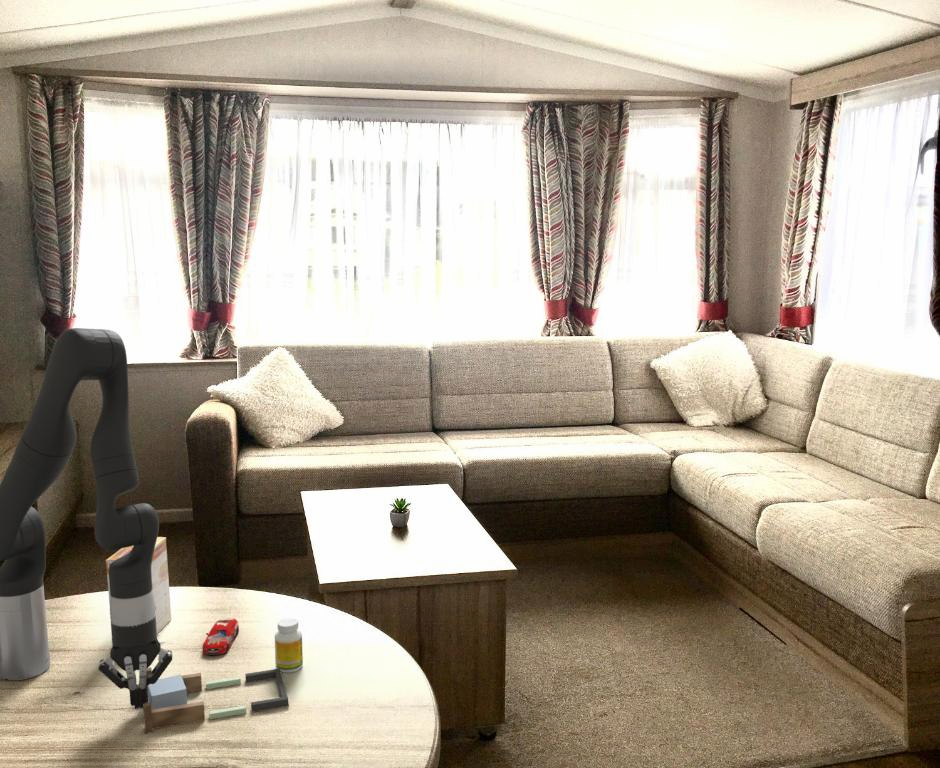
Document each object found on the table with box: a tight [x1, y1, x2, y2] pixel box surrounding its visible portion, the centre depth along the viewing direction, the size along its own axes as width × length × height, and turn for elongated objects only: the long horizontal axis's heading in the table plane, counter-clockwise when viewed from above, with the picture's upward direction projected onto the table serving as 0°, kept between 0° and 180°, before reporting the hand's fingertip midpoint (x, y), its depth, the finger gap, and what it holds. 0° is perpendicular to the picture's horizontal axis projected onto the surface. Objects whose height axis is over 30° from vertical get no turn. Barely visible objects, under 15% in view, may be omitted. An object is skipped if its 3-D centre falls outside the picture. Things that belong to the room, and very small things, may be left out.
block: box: [147, 674, 188, 710], centre depth 167 cm, size 6×6×4 cm
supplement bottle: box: [274, 617, 304, 674], centre depth 180 cm, size 5×5×10 cm
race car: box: [201, 618, 240, 656], centre depth 192 cm, size 13×5×4 cm, turn 178°
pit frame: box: [244, 668, 290, 713], centre depth 171 cm, size 7×12×1 cm, turn 19°
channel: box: [143, 666, 206, 734], centre depth 165 cm, size 10×15×5 cm
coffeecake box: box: [105, 536, 172, 635], centre depth 195 cm, size 15×7×20 cm, turn 175°
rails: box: [205, 676, 247, 720], centre depth 169 cm, size 6×12×1 cm, turn 19°
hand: (139, 706), depth 163 cm, fingers closed
